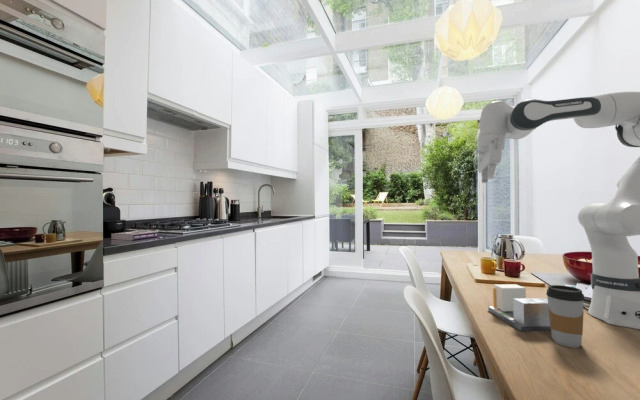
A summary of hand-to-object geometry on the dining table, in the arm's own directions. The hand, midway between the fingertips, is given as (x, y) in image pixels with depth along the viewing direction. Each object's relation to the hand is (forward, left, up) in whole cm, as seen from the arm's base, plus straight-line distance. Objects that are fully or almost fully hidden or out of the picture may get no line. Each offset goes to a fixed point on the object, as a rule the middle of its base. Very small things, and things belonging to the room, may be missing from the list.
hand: (487, 180), depth 110 cm
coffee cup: (-24, +12, -48) cm, 55 cm away
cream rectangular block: (-5, -1, -46) cm, 46 cm away
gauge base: (-10, +2, -48) cm, 49 cm away
